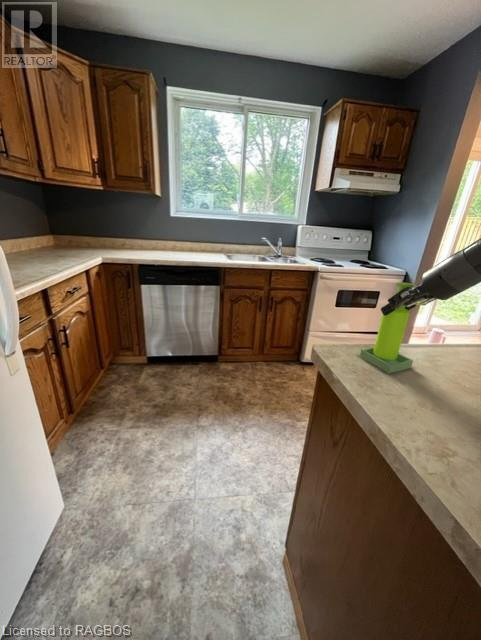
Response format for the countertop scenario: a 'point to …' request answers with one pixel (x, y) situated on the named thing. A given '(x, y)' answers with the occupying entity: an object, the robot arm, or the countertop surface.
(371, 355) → the green tray
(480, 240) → the robot arm
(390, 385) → the countertop surface
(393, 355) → the soap dispenser
